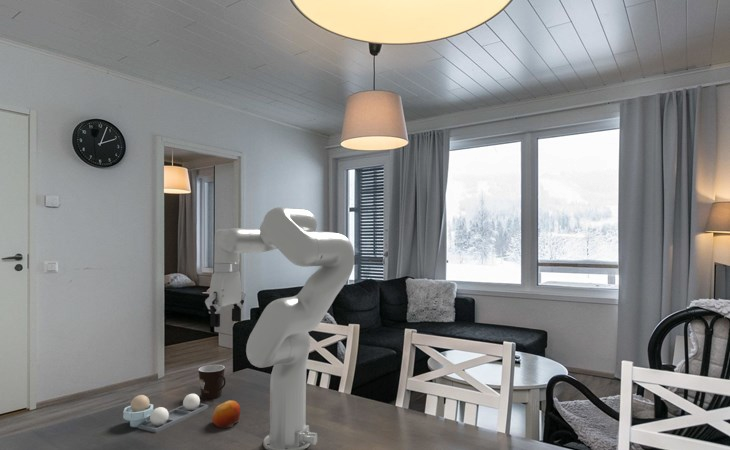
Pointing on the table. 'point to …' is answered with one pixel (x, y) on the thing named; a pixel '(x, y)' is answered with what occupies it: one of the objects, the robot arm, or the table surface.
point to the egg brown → (140, 403)
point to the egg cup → (137, 415)
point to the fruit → (226, 414)
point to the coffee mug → (211, 381)
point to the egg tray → (172, 418)
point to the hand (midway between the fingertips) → (226, 323)
